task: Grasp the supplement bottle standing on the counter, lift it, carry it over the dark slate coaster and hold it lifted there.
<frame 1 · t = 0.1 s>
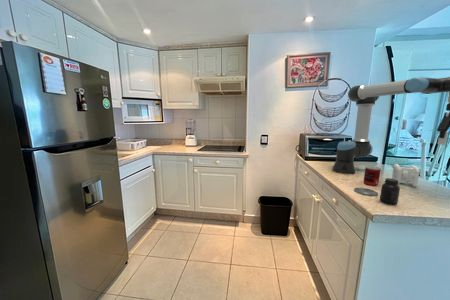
hand: (449, 143, 100), 28 cm above the worktop, fingers open, 13 cm apart
supplement bottle: (388, 202, 94), on the worktop
coaster: (365, 192, 107), on the worktop
canned food: (370, 184, 120), on the worktop
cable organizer: (402, 184, 121), on the worktop
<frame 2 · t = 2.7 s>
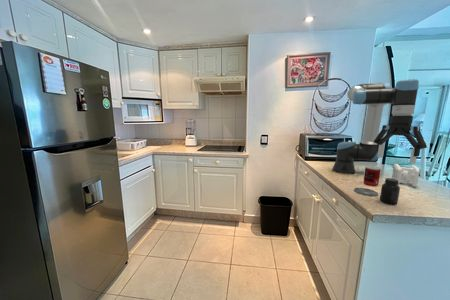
hand: (395, 160, 90), 22 cm above the worktop, fingers open, 13 cm apart
nothing on the worktop moved.
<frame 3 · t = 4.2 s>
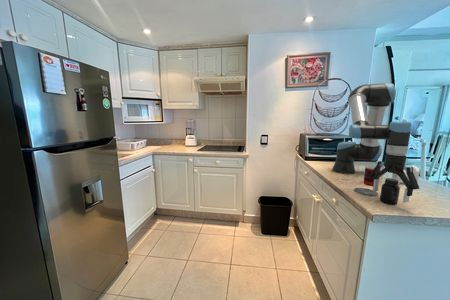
hand: (389, 196, 94), 3 cm above the worktop, fingers open, 13 cm apart
nothing on the worktop moved.
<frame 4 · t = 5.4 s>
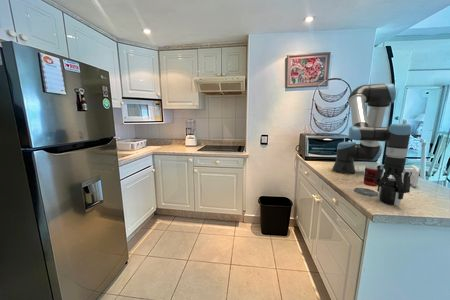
hand: (388, 201, 94), 1 cm above the worktop, fingers closed on supplement bottle, 7 cm apart
supplement bottle: (388, 202, 94), on the worktop, touching gripper
everything else where it was.
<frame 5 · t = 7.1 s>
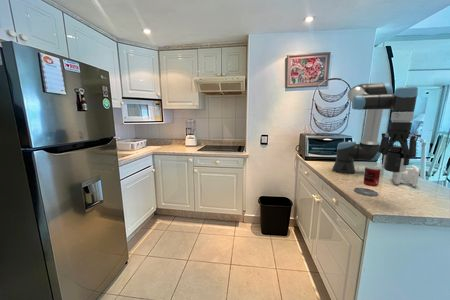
hand: (393, 169, 92), 17 cm above the worktop, fingers closed on supplement bottle, 7 cm apart
supplement bottle: (393, 171, 92), point 16 cm above the worktop, touching gripper
everything else where it was.
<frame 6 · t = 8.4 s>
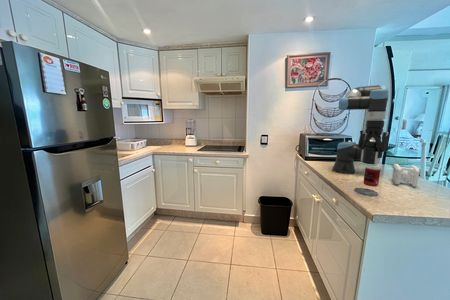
hand: (369, 162, 104), 18 cm above the worktop, fingers closed on supplement bottle, 7 cm apart
supplement bottle: (369, 163, 104), point 17 cm above the worktop, touching gripper
everything else where it was.
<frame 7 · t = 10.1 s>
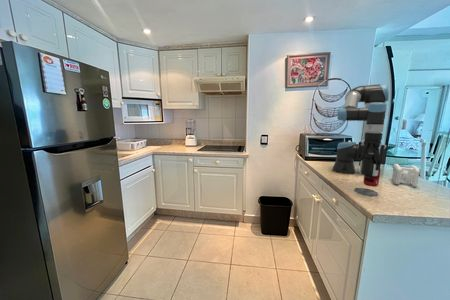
hand: (368, 173, 105), 11 cm above the worktop, fingers closed on supplement bottle, 7 cm apart
supplement bottle: (367, 174, 105), point 10 cm above the worktop, touching gripper
everything else where it was.
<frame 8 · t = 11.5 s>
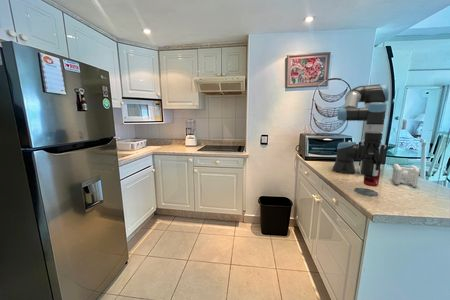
hand: (368, 173, 105), 11 cm above the worktop, fingers closed on supplement bottle, 7 cm apart
supplement bottle: (367, 174, 105), point 10 cm above the worktop, touching gripper
everything else where it was.
at the end: the gripper is holding supplement bottle; supplement bottle point 10.2 cm above the worktop; supplement bottle 0.0 cm from the coaster (horizontally) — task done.
